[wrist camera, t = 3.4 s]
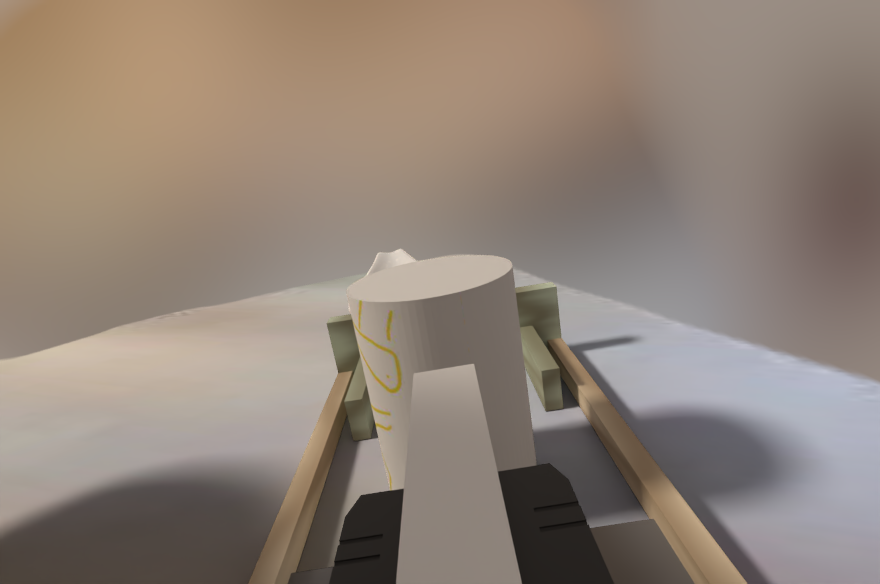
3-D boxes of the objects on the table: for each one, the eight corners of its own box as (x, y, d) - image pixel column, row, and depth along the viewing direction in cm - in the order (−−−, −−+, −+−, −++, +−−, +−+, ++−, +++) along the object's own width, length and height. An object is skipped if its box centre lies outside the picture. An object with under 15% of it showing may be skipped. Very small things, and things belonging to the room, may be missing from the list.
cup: (397, 451, 30) (359, 270, 27) (522, 431, 30) (499, 247, 27) (386, 550, 23) (331, 313, 20) (555, 525, 22) (527, 281, 19)
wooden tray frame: (151, 887, 13) (69, 727, 11) (345, 381, 42) (330, 317, 41) (868, 789, 12) (888, 608, 11) (558, 347, 42) (551, 282, 40)
